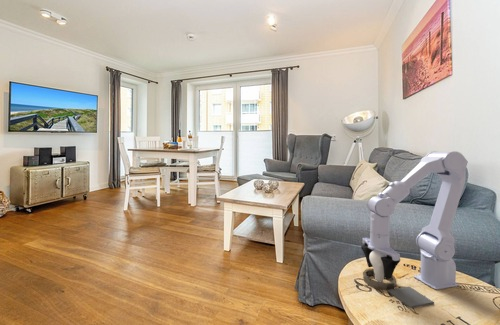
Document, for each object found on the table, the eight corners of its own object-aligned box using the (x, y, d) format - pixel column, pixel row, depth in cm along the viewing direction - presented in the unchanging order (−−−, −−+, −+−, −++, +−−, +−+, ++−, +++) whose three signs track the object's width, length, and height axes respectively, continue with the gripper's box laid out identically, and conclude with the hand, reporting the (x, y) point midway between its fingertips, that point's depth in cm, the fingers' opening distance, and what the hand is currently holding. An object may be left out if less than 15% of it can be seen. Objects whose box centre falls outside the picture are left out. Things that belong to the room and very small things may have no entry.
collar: (380, 272, 85) (380, 267, 85) (402, 287, 76) (403, 281, 76) (357, 276, 83) (357, 270, 83) (377, 291, 74) (377, 285, 74)
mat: (409, 288, 75) (409, 286, 75) (433, 303, 68) (433, 301, 68) (388, 291, 74) (388, 289, 74) (410, 308, 66) (410, 306, 66)
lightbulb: (392, 287, 76) (393, 254, 75) (372, 285, 77) (372, 253, 76) (385, 277, 82) (386, 247, 81) (366, 276, 83) (367, 245, 82)
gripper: (355, 226, 85) (354, 263, 85) (386, 241, 71) (386, 285, 71) (371, 225, 86) (371, 261, 87) (405, 239, 72) (405, 282, 73)
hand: (379, 271), depth 79 cm, fingers open, 7 cm apart
